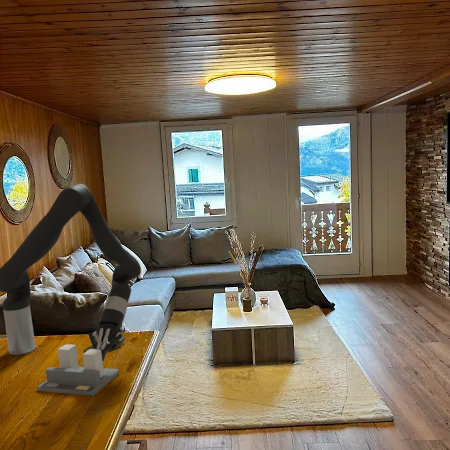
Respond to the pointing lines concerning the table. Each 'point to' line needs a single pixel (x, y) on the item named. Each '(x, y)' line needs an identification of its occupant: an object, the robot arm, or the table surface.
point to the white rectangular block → (68, 357)
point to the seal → (94, 348)
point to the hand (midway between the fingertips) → (98, 362)
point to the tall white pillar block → (93, 360)
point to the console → (76, 380)
